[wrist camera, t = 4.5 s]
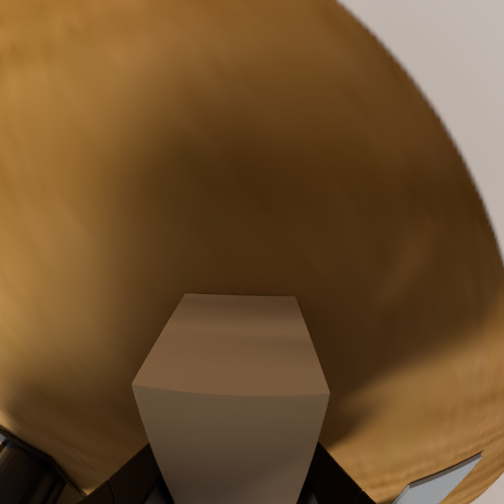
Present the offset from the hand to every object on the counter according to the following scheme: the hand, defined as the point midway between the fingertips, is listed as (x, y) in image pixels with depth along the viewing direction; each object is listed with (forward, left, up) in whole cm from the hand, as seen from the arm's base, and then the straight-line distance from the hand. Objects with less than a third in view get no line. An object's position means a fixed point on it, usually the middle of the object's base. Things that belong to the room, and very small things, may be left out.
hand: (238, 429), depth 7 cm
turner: (0, -3, -1) cm, 3 cm away
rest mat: (+14, -16, -1) cm, 22 cm away
